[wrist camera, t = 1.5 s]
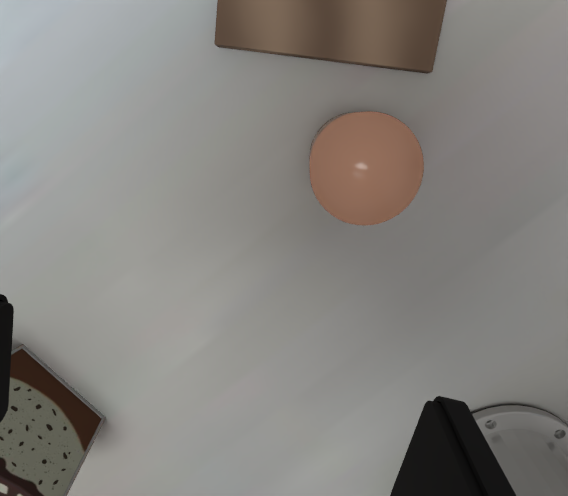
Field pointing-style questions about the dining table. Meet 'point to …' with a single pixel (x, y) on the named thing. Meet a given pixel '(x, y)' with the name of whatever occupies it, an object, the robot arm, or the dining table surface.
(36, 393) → the food container
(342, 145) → the cylinder block
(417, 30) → the serving board
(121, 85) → the dining table surface
